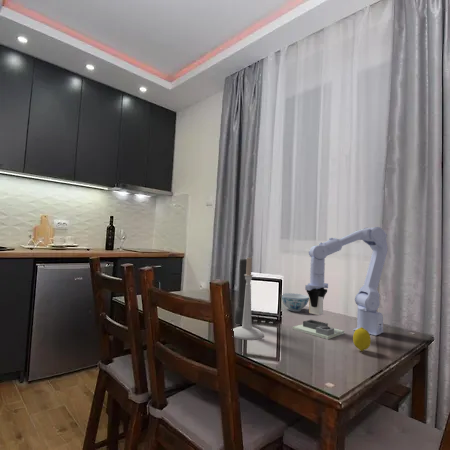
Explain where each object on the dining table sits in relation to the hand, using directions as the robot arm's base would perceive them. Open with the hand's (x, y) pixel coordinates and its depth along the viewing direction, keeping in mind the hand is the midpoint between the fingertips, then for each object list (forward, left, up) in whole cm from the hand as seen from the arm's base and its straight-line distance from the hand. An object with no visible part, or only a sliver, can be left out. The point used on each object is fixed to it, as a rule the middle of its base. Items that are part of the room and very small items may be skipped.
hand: (316, 306), depth 130 cm
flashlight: (+24, +19, -10) cm, 33 cm away
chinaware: (+28, -25, -10) cm, 39 cm away
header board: (-2, +1, -10) cm, 10 cm away
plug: (0, 0, -3) cm, 3 cm away
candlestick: (+12, +29, -10) cm, 33 cm away
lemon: (-24, +10, -10) cm, 28 cm away
